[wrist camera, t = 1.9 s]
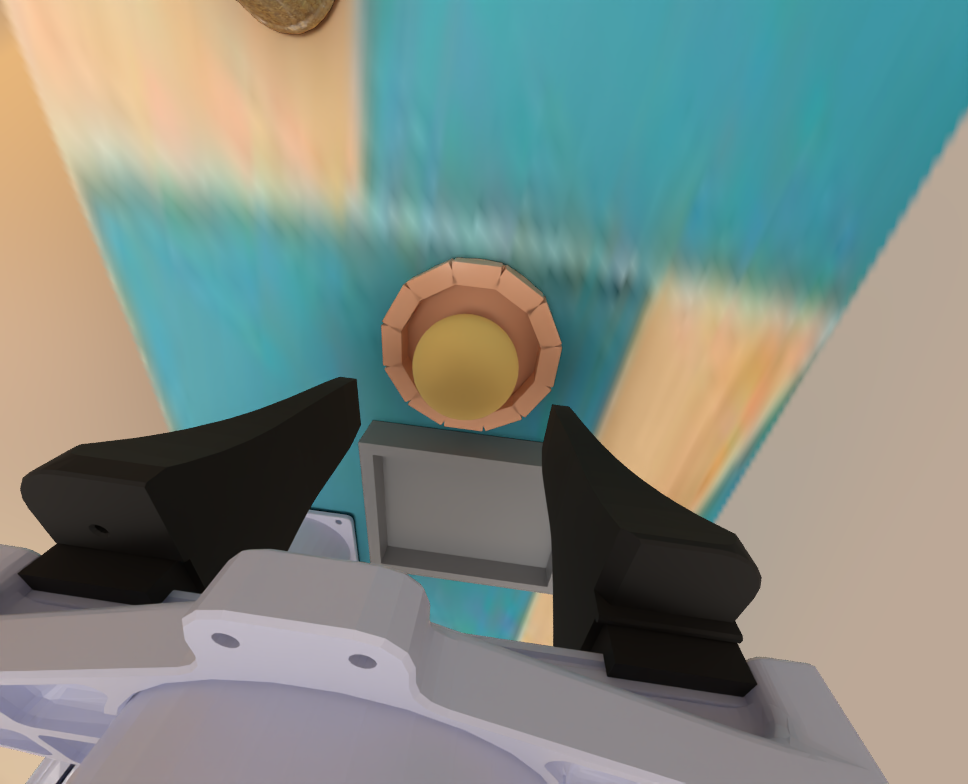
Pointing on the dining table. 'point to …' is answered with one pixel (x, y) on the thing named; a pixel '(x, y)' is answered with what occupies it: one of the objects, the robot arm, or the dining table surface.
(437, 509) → the tray
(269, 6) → the sprinkles bottle
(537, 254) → the dining table surface
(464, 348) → the ball
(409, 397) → the copper shallow bowl
